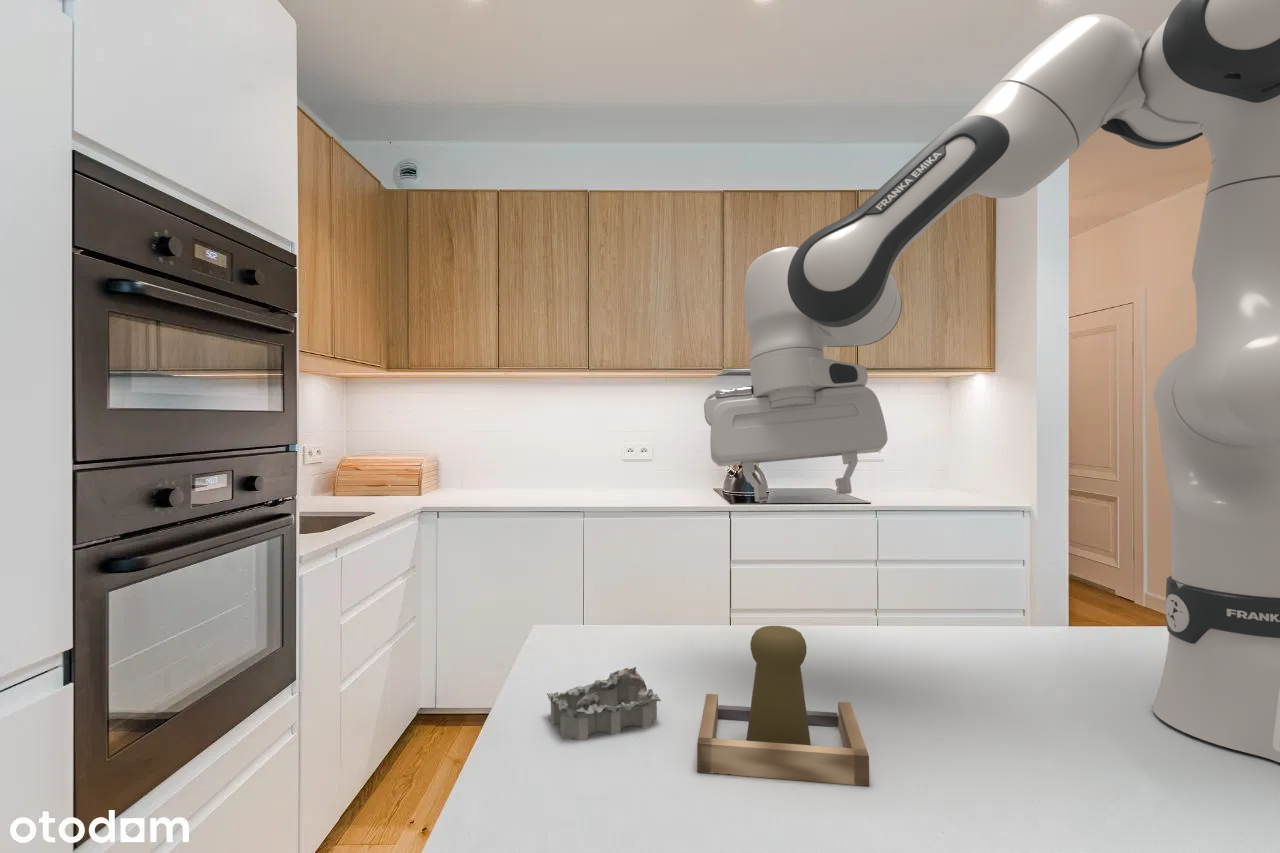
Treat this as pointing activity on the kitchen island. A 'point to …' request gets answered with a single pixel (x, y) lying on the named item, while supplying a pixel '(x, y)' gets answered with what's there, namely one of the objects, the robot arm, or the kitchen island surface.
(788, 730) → the cork
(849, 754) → the bay
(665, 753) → the kitchen island surface
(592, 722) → the egg carton
